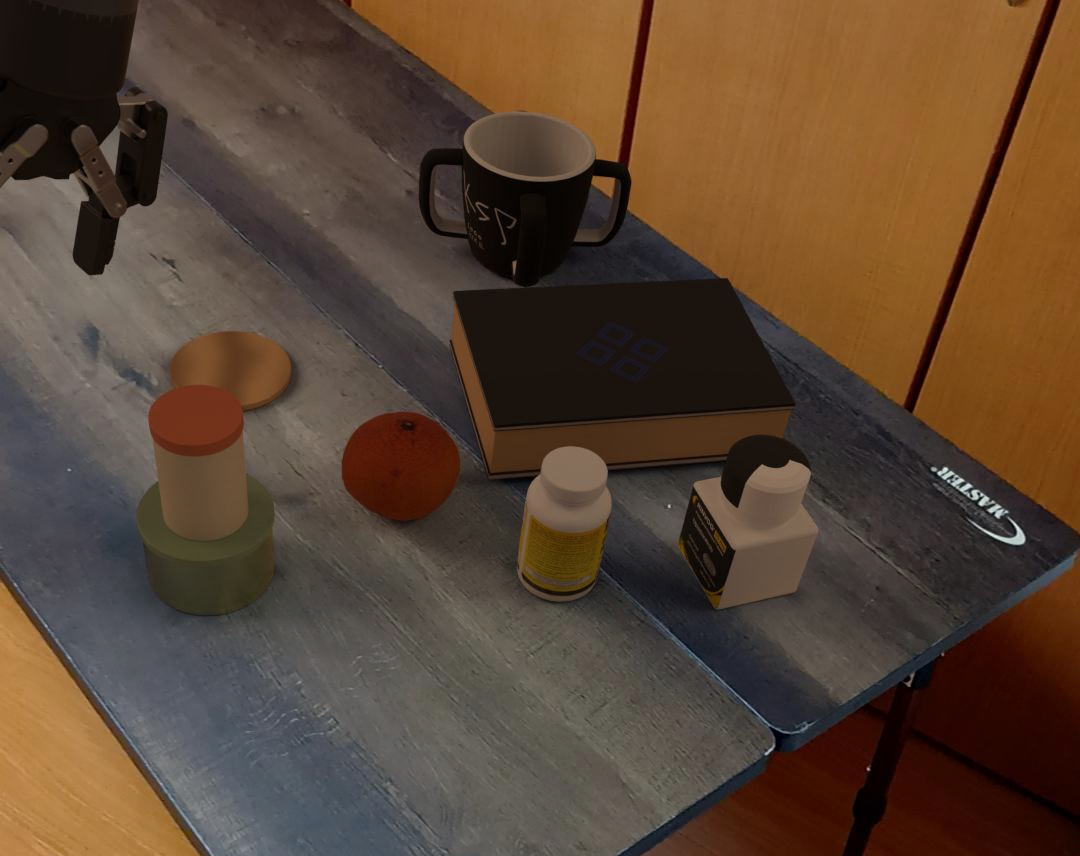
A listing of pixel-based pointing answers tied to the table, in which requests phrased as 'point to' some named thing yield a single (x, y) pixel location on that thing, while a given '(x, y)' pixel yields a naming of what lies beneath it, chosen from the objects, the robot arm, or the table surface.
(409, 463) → the fruit
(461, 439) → the table surface
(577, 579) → the pill bottle
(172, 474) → the canister
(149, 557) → the tin
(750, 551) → the medicine bottle
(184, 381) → the coaster
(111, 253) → the robot arm
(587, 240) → the mug
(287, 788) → the table surface
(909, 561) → the table surface
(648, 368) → the book
